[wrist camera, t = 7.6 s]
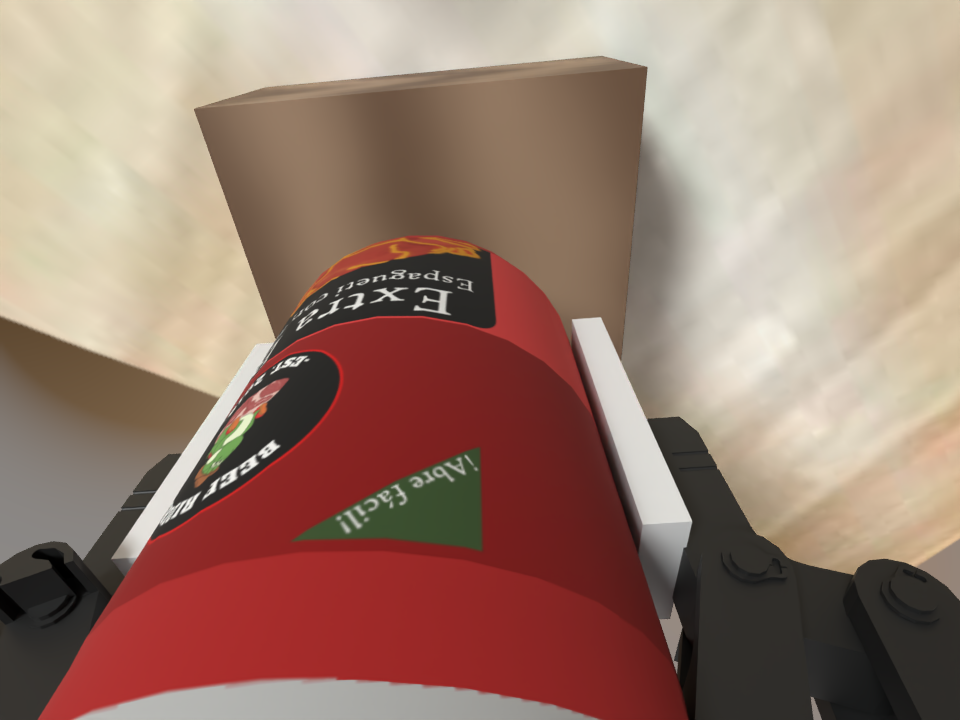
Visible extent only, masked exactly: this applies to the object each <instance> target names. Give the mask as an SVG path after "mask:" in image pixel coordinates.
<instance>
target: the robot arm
mask: <svg viewBox="0 0 960 720" xmlns="http://www.w3.org/2000/svg"><path fill="white" fill-rule="evenodd" d="M272 345H273V343H262V344H256V345H255V347H254V348H253V350H252V351H251V353H250V354H249V356H248V357H247V359H246V360H245V362H244V363H243V365H242V366H241V368H240V369H239V370H238V372H237V373H236V375H235V376H234V378H233V379H232V381H231V382H230V384H229V385H228V387H227V388H226V390H225V391H224V393H223V394H222V396H221V397H220V399H219V400H218V402H217V403H216V404H215V406H214V408H213V409H212V410H211V412H210V413H209V415H208V417H207V418H206V419H205V421H204V422H203V424H202V425H201V427H200V428H199V430H198V431H197V433H196V434H195V436H194V437H193V439H192V440H191V441H190V443H189V444H188V446H187V447H186V449H185V450H184V452H183V453H182V454H169V455H167V456H166V457H165V458H164V459H162V460H161V461H160V462H159V463H158V464H156V465H155V466H154V467H153V468H152V469H150V470H149V471H148V472H147V473H146V474H145V476H144V477H143V479H142V480H141V481H140V483H139V484H138V485H137V487H136V488H135V490H134V491H133V495H130V496H129V498H128V499H127V500H126V502H125V503H124V505H123V506H122V507H121V508H122V510H121V512H118V513H117V514H116V516H115V517H114V518H113V520H112V521H111V522H110V524H109V525H108V527H107V528H106V529H105V531H104V532H103V533H102V535H101V536H100V538H99V539H98V540H97V542H96V543H95V544H94V546H93V547H92V549H91V550H90V551H89V553H88V554H87V556H86V557H85V558H84V560H83V561H82V560H81V558H80V557H79V556H78V555H77V554H76V552H75V551H74V550H73V549H72V548H71V547H70V546H69V545H68V544H67V543H63V542H48V543H44V544H39V545H35V546H33V547H31V548H28V549H26V550H24V551H22V552H20V553H17V554H16V555H14V556H13V557H11V558H10V559H8V560H7V561H5V562H3V563H2V564H0V720H38V718H39V717H40V715H41V714H42V712H43V710H44V709H45V707H46V706H47V704H48V702H49V701H50V699H51V698H52V696H53V694H54V693H55V691H56V690H57V688H58V686H59V685H60V683H61V682H62V680H63V678H64V677H65V675H66V674H67V672H68V670H69V669H70V667H71V665H72V663H73V661H74V659H75V658H76V656H77V654H78V652H79V650H80V648H81V646H82V645H83V643H84V641H85V639H86V637H87V636H88V634H89V633H90V631H91V630H92V628H93V626H94V625H95V623H96V622H97V620H98V619H99V617H100V615H101V614H102V612H103V611H104V609H105V608H106V606H107V604H108V603H109V601H110V600H111V598H112V597H113V595H114V593H115V592H116V590H117V589H118V587H119V586H120V584H121V582H122V581H123V579H124V578H125V576H126V575H127V573H128V571H129V570H130V568H131V567H132V565H133V564H134V562H135V560H136V559H137V557H138V556H139V554H140V553H141V551H142V549H143V548H144V546H145V545H146V543H147V541H148V540H149V538H150V537H151V535H152V534H153V532H154V530H155V529H156V527H157V526H158V524H159V523H160V521H161V519H162V518H163V516H164V515H165V513H166V512H167V510H168V508H169V507H170V505H171V504H172V502H173V501H174V499H175V497H176V496H177V494H178V493H179V491H180V490H181V488H182V486H183V485H184V483H185V482H186V480H187V479H188V477H189V475H190V474H191V472H192V471H193V469H194V468H195V466H196V464H197V463H198V461H199V460H200V458H201V457H202V455H203V453H204V452H205V450H206V449H207V447H208V446H209V444H210V442H211V441H212V439H213V438H214V436H215V435H216V433H217V431H218V430H219V428H220V427H221V425H222V424H223V422H224V420H225V419H226V417H227V416H228V414H229V413H230V411H231V409H232V408H233V406H234V405H235V403H236V401H237V400H238V398H239V397H240V395H241V394H242V392H243V390H244V389H245V387H246V386H247V384H248V383H249V381H250V379H251V378H252V376H253V375H254V373H255V372H256V370H257V368H258V367H259V365H260V364H261V362H262V361H263V359H264V357H265V356H266V354H267V353H268V351H269V350H270V348H271V346H272ZM571 349H572V352H573V355H574V358H575V361H576V364H577V367H578V370H579V373H580V376H581V379H582V383H583V386H584V389H585V392H586V395H587V398H588V401H589V404H590V407H591V410H592V413H593V417H594V420H595V423H596V426H597V429H598V432H599V435H600V438H601V441H602V444H603V447H604V451H605V454H606V457H607V460H608V463H609V466H610V469H611V472H612V475H613V478H614V481H615V485H616V488H617V491H618V494H619V497H620V500H621V503H622V506H623V509H624V512H625V515H626V519H627V522H628V525H629V528H630V531H631V534H632V537H633V540H634V543H635V546H636V549H637V553H638V556H639V559H640V562H641V565H642V568H643V571H644V574H645V577H646V580H647V583H648V586H649V590H650V593H651V596H652V599H653V602H654V605H655V608H656V611H657V614H658V617H659V619H670V616H671V612H672V607H673V603H674V604H675V607H676V610H677V612H678V615H679V618H680V621H681V624H682V627H683V628H682V632H681V636H680V640H679V643H678V647H677V651H676V655H675V659H674V661H677V662H678V669H677V676H678V679H679V682H680V685H681V688H682V692H683V696H684V700H685V704H686V708H687V712H688V716H689V720H813V714H812V705H811V697H814V699H815V702H816V705H817V707H818V710H819V712H820V715H821V718H822V720H960V601H959V600H958V599H957V597H956V596H955V595H954V594H953V593H952V592H951V591H950V590H949V589H948V587H947V586H945V585H944V584H942V583H941V582H940V581H938V580H937V579H935V578H934V577H933V576H931V575H930V574H928V573H927V572H925V571H923V570H920V569H918V568H916V567H914V566H911V565H909V564H907V563H904V562H899V561H894V560H889V559H879V560H869V561H867V562H866V563H864V564H863V565H861V566H860V567H858V569H857V571H856V572H855V574H854V575H851V574H846V573H842V572H837V571H832V570H828V569H823V568H818V567H814V566H809V565H806V564H802V563H799V562H796V561H793V560H791V559H789V558H787V557H786V556H785V555H784V553H783V552H782V551H781V550H780V549H779V548H778V547H777V546H775V545H774V544H772V543H771V542H770V541H768V540H767V539H765V538H764V537H761V536H759V535H757V534H756V533H755V532H754V530H753V529H752V527H751V526H750V524H749V522H748V521H747V519H746V517H745V515H744V513H743V512H742V510H741V508H740V506H739V505H738V503H737V501H736V499H735V497H734V496H733V494H732V492H731V490H730V488H729V487H728V485H727V483H726V481H725V480H724V478H723V476H722V474H721V472H720V471H719V470H717V465H716V464H715V462H714V460H713V458H712V456H711V455H710V454H708V449H707V447H706V446H705V444H704V442H703V440H702V439H701V437H700V435H699V433H698V432H697V431H696V430H695V429H694V428H692V427H691V426H690V425H689V424H688V423H686V422H685V421H684V420H683V419H681V418H680V417H669V418H654V419H646V417H645V415H644V412H643V410H642V408H641V406H640V404H639V401H638V399H637V397H636V395H635V392H634V390H633V388H632V386H631V384H630V381H629V379H628V377H627V375H626V372H625V370H624V368H623V366H622V363H621V361H620V359H619V357H618V355H617V352H616V350H615V348H614V346H613V343H612V341H611V339H610V337H609V334H608V332H607V330H606V328H605V326H604V323H603V321H602V319H601V317H597V318H584V319H572V336H571ZM810 696H811V697H810Z"/></svg>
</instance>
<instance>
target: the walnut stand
mask: <svg viewBox="0 0 960 720" xmlns="http://www.w3.org/2000/svg"><path fill="white" fill-rule="evenodd" d="M646 78H647V67H645V66H641V65H637V64H633V63H629V62H624V61H620V60H616V59H612V58H608V57H604V56H598V57H587V58H576V59H565V60H555V61H544V62H533V63H523V64H512V65H501V66H491V67H480V68H469V69H458V70H448V71H437V72H426V73H416V74H405V75H394V76H384V77H373V78H362V79H351V80H341V81H330V82H319V83H309V84H298V85H287V86H277V87H266V88H262V89H259V90H255V91H252V92H249V93H245V94H242V95H239V96H235V97H232V98H229V99H225V100H222V101H219V102H215V103H212V104H209V105H205V106H202V107H199V108H195V109H194V111H195V114H196V116H197V119H198V122H199V125H200V128H201V130H202V133H203V136H204V139H205V142H206V144H207V147H208V150H209V153H210V156H211V159H212V161H213V164H214V167H215V170H216V173H217V175H218V178H219V181H220V184H221V187H222V189H223V192H224V195H225V198H226V201H227V203H228V206H229V209H230V212H231V215H232V218H233V220H234V223H235V226H236V229H237V232H238V234H239V237H240V240H241V243H242V246H243V248H244V251H245V254H246V257H247V260H248V262H249V265H250V268H251V271H252V274H253V276H254V279H255V282H256V285H257V288H258V291H259V293H260V296H261V299H262V302H263V305H264V307H265V310H266V313H267V316H268V319H269V321H270V324H271V327H272V330H273V333H274V335H275V338H276V339H277V337H278V335H279V334H280V332H281V331H282V329H283V328H284V326H285V324H286V323H287V321H288V320H289V318H290V317H291V315H292V313H293V312H294V310H295V309H296V307H297V306H298V304H299V302H300V301H301V299H302V298H303V296H304V295H305V293H306V292H307V291H308V290H309V288H310V287H311V286H312V285H313V284H314V282H315V281H316V280H317V279H318V278H319V276H320V275H321V274H322V273H323V272H324V271H326V270H327V269H328V268H330V267H331V266H332V265H334V264H335V263H336V262H338V261H339V260H340V259H342V258H343V257H344V256H347V255H349V254H351V253H353V252H356V251H358V250H360V249H362V248H365V247H367V246H369V245H371V244H374V243H378V242H381V241H386V240H390V239H395V238H400V237H405V236H443V237H448V238H453V239H458V240H463V241H467V242H469V243H472V244H474V245H477V246H479V247H482V248H484V249H487V250H489V251H492V252H493V253H495V254H496V255H498V256H500V257H501V258H503V259H504V260H506V261H507V262H509V263H510V264H512V265H513V266H515V267H516V268H518V269H519V270H521V271H522V272H524V273H525V274H526V275H527V276H528V277H529V278H530V279H531V280H532V281H533V282H534V283H535V284H536V285H537V286H538V287H539V288H540V289H541V290H542V291H543V292H544V293H545V295H546V296H547V298H548V299H549V301H550V302H551V304H552V305H553V307H554V308H555V310H556V311H557V313H558V314H559V316H560V318H561V321H562V324H563V326H564V329H565V332H566V334H567V337H568V339H569V342H570V345H571V336H572V319H584V318H597V317H601V319H602V321H603V323H604V326H605V328H606V330H607V332H608V334H609V337H610V339H611V341H612V343H613V346H614V348H615V350H616V352H617V355H618V357H619V359H620V361H621V356H622V345H623V334H624V323H625V312H626V301H627V289H628V278H629V267H630V256H631V245H632V234H633V223H634V212H635V200H636V189H637V178H638V167H639V156H640V145H641V134H642V122H643V111H644V100H645V89H646Z"/></svg>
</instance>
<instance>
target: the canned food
mask: <svg viewBox="0 0 960 720" xmlns="http://www.w3.org/2000/svg"><path fill="white" fill-rule="evenodd" d="M38 720H689V716H688V712H687V708H686V704H685V700H684V696H683V692H682V688H681V685H680V682H679V679H678V676H677V673H676V670H675V667H674V664H673V661H672V658H671V654H670V652H669V648H668V645H667V642H666V639H665V636H664V633H663V630H662V627H661V624H660V620H659V617H658V614H657V611H656V608H655V605H654V602H653V599H652V596H651V593H650V590H649V586H648V583H647V580H646V577H645V574H644V571H643V568H642V565H641V562H640V559H639V556H638V553H637V549H636V546H635V543H634V540H633V537H632V534H631V531H630V528H629V525H628V522H627V519H626V515H625V512H624V509H623V506H622V503H621V500H620V497H619V494H618V491H617V488H616V485H615V481H614V478H613V475H612V472H611V469H610V466H609V463H608V460H607V457H606V454H605V451H604V447H603V444H602V441H601V438H600V435H599V432H598V429H597V426H596V423H595V420H594V417H593V413H592V410H591V407H590V404H589V401H588V398H587V395H586V392H585V389H584V386H583V383H582V379H581V376H580V373H579V370H578V367H577V364H576V361H575V358H574V355H573V352H572V349H571V345H570V342H569V339H568V337H567V334H566V332H565V329H564V326H563V324H562V321H561V318H560V316H559V314H558V313H557V311H556V310H555V308H554V307H553V305H552V304H551V302H550V301H549V299H548V298H547V296H546V295H545V293H544V292H543V291H542V290H541V289H540V288H539V287H538V286H537V285H536V284H535V283H534V282H533V281H532V280H531V279H530V278H529V277H528V276H527V275H526V274H525V273H524V272H522V271H521V270H519V269H518V268H516V267H515V266H513V265H512V264H510V263H509V262H507V261H506V260H504V259H503V258H501V257H500V256H498V255H496V254H495V253H493V252H492V251H489V250H487V249H484V248H482V247H479V246H477V245H474V244H472V243H469V242H467V241H463V240H458V239H453V238H448V237H443V236H405V237H400V238H395V239H390V240H386V241H381V242H378V243H374V244H371V245H369V246H367V247H365V248H362V249H360V250H358V251H356V252H353V253H351V254H349V255H347V256H344V257H343V258H342V259H340V260H339V261H338V262H336V263H335V264H334V265H332V266H331V267H330V268H328V269H327V270H326V271H324V272H323V273H322V274H321V275H320V276H319V278H318V279H317V280H316V281H315V282H314V284H313V285H312V286H311V287H310V288H309V290H308V291H307V292H306V293H305V295H304V296H303V298H302V299H301V301H300V302H299V304H298V306H297V307H296V309H295V310H294V312H293V313H292V315H291V317H290V318H289V320H288V321H287V323H286V324H285V326H284V328H283V329H282V331H281V332H280V334H279V335H278V337H277V339H276V340H275V342H274V343H273V345H272V346H271V348H270V350H269V351H268V353H267V354H266V356H265V357H264V359H263V361H262V362H261V364H260V365H259V367H258V368H257V370H256V372H255V373H254V375H253V376H252V378H251V379H250V381H249V383H248V384H247V386H246V387H245V389H244V390H243V392H242V394H241V395H240V397H239V398H238V400H237V401H236V403H235V405H234V406H233V408H232V409H231V411H230V413H229V414H228V416H227V417H226V419H225V420H224V422H223V424H222V425H221V427H220V428H219V430H218V431H217V433H216V435H215V436H214V438H213V439H212V441H211V442H210V444H209V446H208V447H207V449H206V450H205V452H204V453H203V455H202V457H201V458H200V460H199V461H198V463H197V464H196V466H195V468H194V469H193V471H192V472H191V474H190V475H189V477H188V479H187V480H186V482H185V483H184V485H183V486H182V488H181V490H180V491H179V493H178V494H177V496H176V497H175V499H174V501H173V502H172V504H171V505H170V507H169V508H168V510H167V512H166V513H165V515H164V516H163V518H162V519H161V521H160V523H159V524H158V526H157V527H156V529H155V530H154V532H153V534H152V535H151V537H150V538H149V540H148V541H147V543H146V545H145V546H144V548H143V549H142V551H141V553H140V554H139V556H138V557H137V559H136V560H135V562H134V564H133V565H132V567H131V568H130V570H129V571H128V573H127V575H126V576H125V578H124V579H123V581H122V582H121V584H120V586H119V587H118V589H117V590H116V592H115V593H114V595H113V597H112V598H111V600H110V601H109V603H108V604H107V606H106V608H105V609H104V611H103V612H102V614H101V615H100V617H99V619H98V620H97V622H96V623H95V625H94V626H93V628H92V630H91V631H90V633H89V634H88V636H87V637H86V639H85V641H84V643H83V645H82V646H81V648H80V650H79V652H78V654H77V656H76V658H75V659H74V661H73V663H72V665H71V667H70V669H69V670H68V672H67V674H66V675H65V677H64V678H63V680H62V682H61V683H60V685H59V686H58V688H57V690H56V691H55V693H54V694H53V696H52V698H51V699H50V701H49V702H48V704H47V706H46V707H45V709H44V710H43V712H42V714H41V715H40V717H39V718H38Z"/></svg>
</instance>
